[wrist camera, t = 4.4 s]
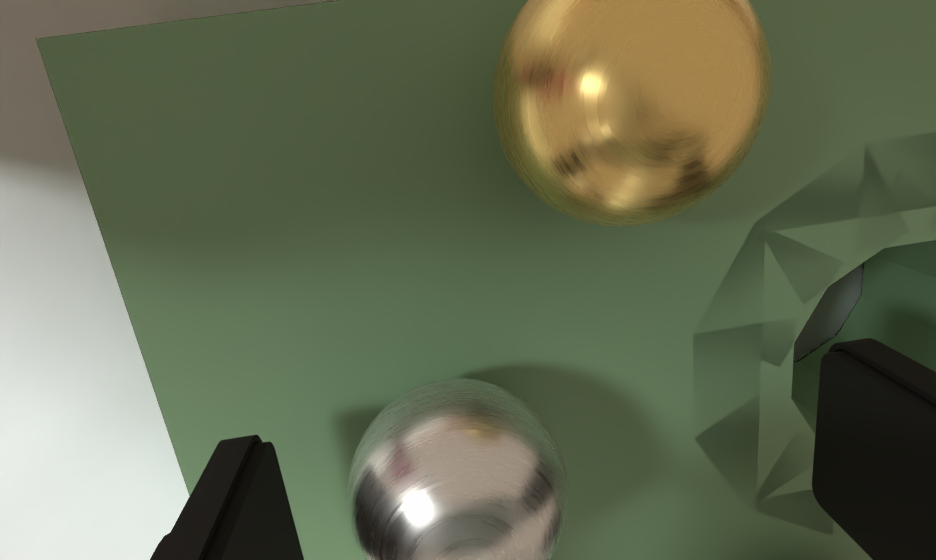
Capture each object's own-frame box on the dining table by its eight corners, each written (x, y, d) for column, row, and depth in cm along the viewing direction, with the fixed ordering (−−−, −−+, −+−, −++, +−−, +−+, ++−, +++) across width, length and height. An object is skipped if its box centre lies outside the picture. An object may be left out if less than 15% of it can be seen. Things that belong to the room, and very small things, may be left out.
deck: (149, 53, 12) (35, 38, 9) (1048, -64, 13) (1301, -123, 10) (304, 605, 17) (275, 753, 13) (959, 486, 18) (1104, 591, 14)
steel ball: (339, 360, 11) (309, 485, 7) (532, 329, 11) (588, 437, 7) (374, 519, 12) (362, 690, 8) (549, 489, 12) (603, 644, 9)
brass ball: (464, -12, 9) (499, -71, 6) (690, -41, 9) (852, -114, 6) (491, 215, 10) (533, 279, 7) (692, 185, 10) (829, 233, 7)
